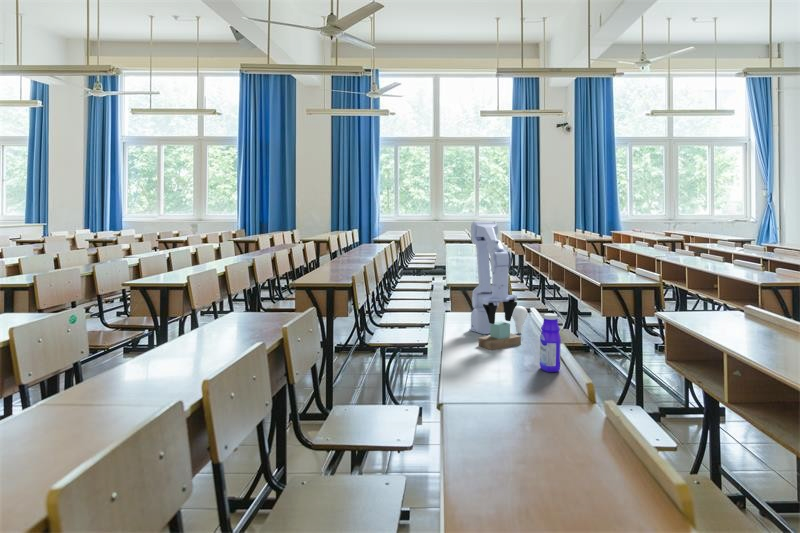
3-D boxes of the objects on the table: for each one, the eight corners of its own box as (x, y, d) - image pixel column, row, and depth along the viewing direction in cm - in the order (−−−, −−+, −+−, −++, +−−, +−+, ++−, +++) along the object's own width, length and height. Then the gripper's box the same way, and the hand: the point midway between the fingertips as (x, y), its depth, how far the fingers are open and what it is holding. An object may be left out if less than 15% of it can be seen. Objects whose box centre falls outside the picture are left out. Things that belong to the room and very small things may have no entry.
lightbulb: (526, 331, 220) (526, 304, 219) (528, 335, 214) (528, 307, 213) (510, 331, 221) (510, 304, 220) (512, 335, 215) (512, 307, 214)
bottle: (536, 366, 174) (537, 312, 172) (554, 365, 175) (555, 311, 173) (544, 373, 167) (545, 317, 165) (563, 372, 168) (564, 316, 166)
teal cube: (490, 336, 201) (490, 322, 201) (500, 334, 204) (501, 321, 203) (499, 339, 197) (499, 325, 197) (510, 337, 200) (510, 323, 199)
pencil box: (478, 345, 200) (478, 337, 200) (507, 340, 207) (507, 332, 207) (491, 350, 194) (491, 341, 194) (521, 344, 201) (521, 336, 201)
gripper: (492, 288, 191) (491, 326, 193) (523, 284, 199) (522, 321, 200) (479, 285, 197) (478, 322, 199) (509, 282, 205) (509, 318, 206)
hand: (499, 322), depth 200 cm, fingers open, 7 cm apart
